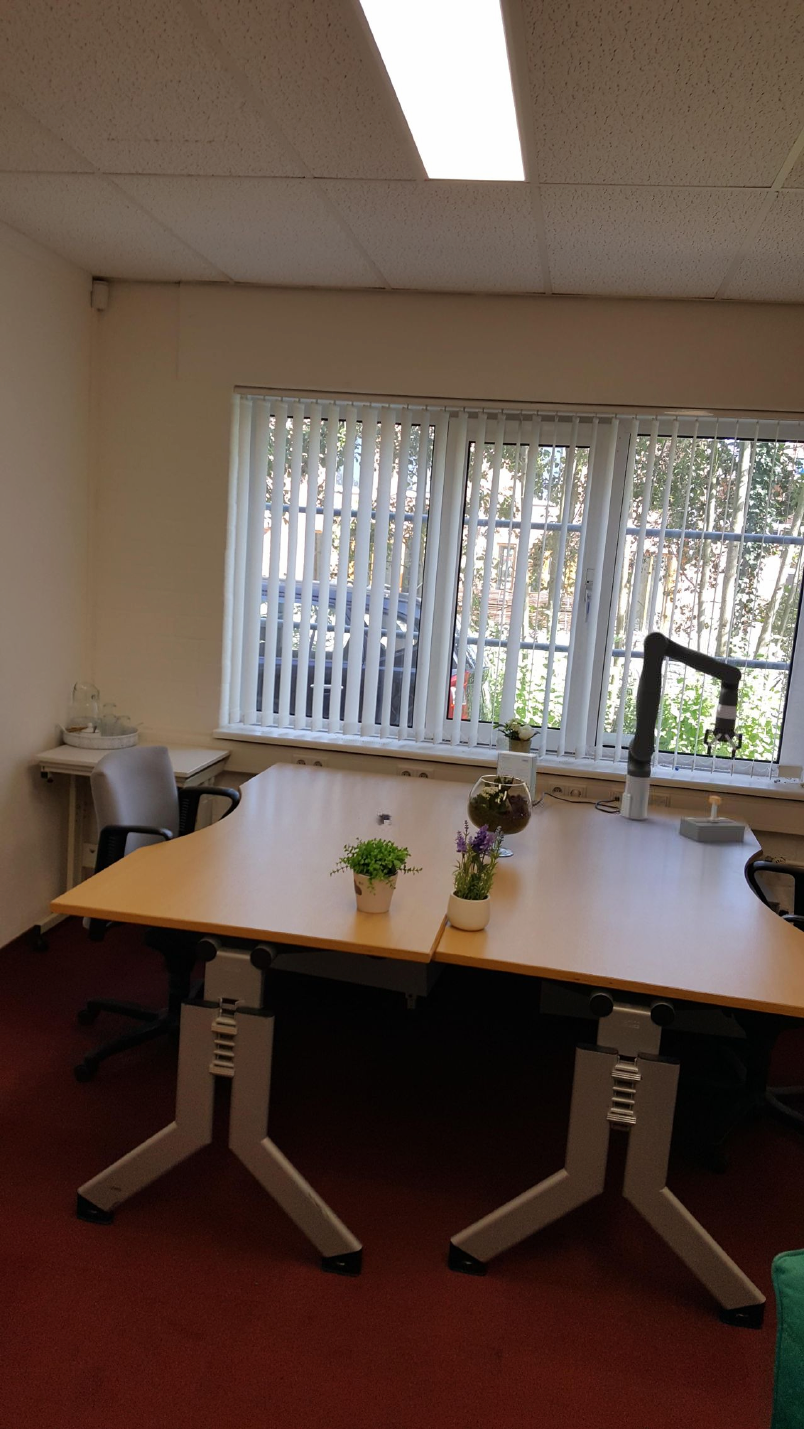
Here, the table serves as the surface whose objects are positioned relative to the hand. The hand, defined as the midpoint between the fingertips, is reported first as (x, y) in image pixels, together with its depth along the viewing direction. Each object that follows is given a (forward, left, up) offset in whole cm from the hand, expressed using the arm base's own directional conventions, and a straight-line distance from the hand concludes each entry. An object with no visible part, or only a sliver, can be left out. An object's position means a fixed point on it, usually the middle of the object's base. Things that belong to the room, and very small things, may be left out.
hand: (720, 757), depth 380 cm
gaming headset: (-133, +8, -29) cm, 136 cm away
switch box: (-11, -15, -28) cm, 34 cm away
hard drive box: (-66, +46, -28) cm, 85 cm away
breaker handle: (-11, -15, -22) cm, 29 cm away
